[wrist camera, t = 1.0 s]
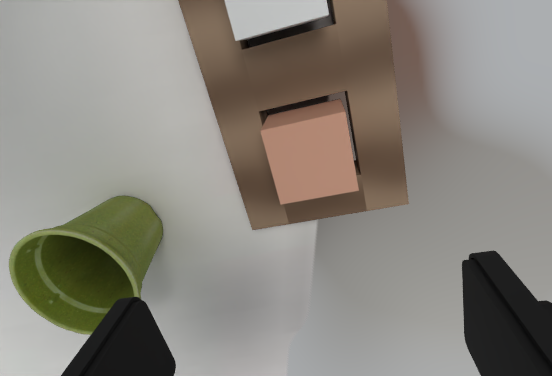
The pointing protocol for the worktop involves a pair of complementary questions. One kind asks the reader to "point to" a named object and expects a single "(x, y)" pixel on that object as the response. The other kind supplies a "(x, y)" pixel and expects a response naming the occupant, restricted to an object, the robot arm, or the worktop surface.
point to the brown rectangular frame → (299, 87)
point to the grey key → (271, 15)
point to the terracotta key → (310, 152)
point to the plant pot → (87, 263)
